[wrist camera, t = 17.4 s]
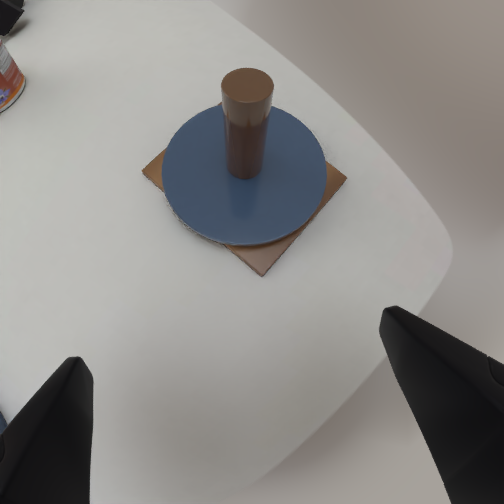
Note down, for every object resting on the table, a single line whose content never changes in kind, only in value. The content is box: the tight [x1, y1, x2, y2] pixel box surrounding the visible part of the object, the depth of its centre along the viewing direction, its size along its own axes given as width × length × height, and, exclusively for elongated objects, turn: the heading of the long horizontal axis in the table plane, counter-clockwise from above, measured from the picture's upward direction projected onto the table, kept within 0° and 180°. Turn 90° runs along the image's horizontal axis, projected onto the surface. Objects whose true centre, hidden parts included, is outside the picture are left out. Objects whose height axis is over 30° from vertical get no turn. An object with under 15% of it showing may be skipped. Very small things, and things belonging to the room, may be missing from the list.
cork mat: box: [142, 102, 347, 277], centre depth 23 cm, size 12×10×1 cm
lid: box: [161, 68, 327, 246], centre depth 19 cm, size 12×12×9 cm
